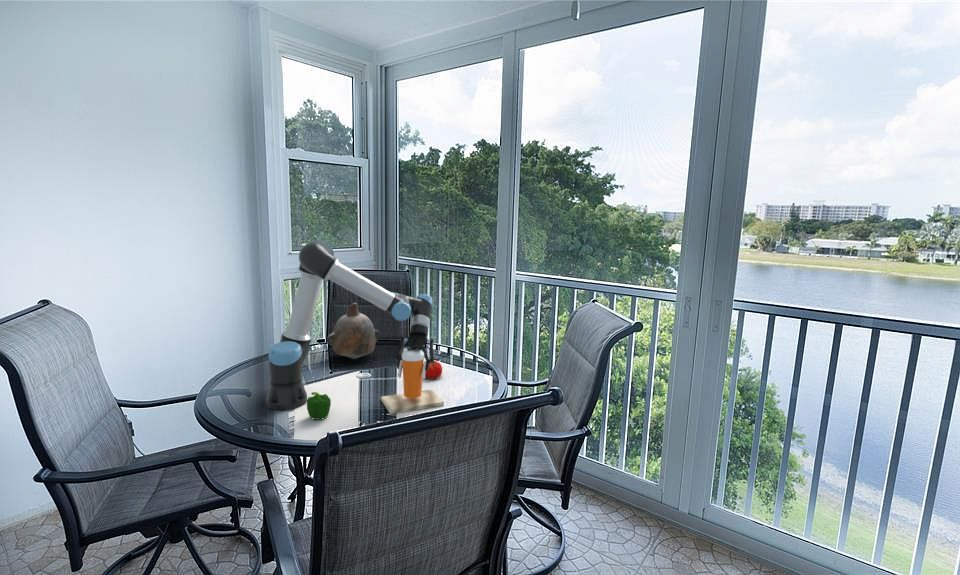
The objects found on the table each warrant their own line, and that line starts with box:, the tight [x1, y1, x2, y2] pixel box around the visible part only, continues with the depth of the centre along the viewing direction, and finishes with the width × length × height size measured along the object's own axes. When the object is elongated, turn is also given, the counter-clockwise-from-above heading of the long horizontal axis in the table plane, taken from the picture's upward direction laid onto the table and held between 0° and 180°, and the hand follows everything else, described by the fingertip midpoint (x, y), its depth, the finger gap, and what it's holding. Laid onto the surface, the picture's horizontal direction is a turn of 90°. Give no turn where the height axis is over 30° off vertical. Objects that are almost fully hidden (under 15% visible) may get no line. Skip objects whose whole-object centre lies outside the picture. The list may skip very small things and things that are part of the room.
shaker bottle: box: [401, 345, 425, 398], centre depth 188 cm, size 9×9×20 cm
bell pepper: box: [306, 391, 332, 420], centre depth 173 cm, size 8×8×10 cm
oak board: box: [380, 389, 445, 415], centre depth 190 cm, size 22×14×2 cm, turn 116°
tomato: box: [423, 360, 443, 379], centre depth 220 cm, size 10×11×6 cm
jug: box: [326, 302, 381, 360], centre depth 238 cm, size 24×21×30 cm
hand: (411, 377), depth 185 cm, fingers closed on shaker bottle, 9 cm apart
